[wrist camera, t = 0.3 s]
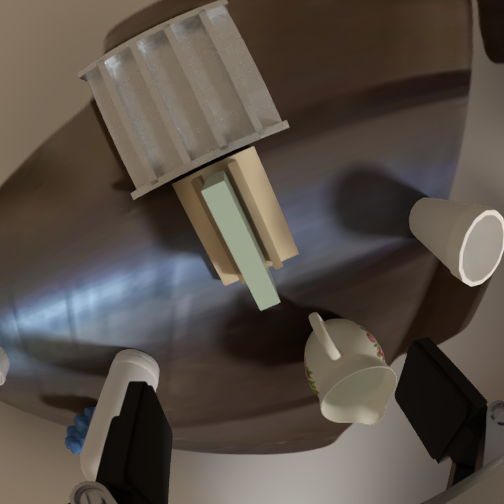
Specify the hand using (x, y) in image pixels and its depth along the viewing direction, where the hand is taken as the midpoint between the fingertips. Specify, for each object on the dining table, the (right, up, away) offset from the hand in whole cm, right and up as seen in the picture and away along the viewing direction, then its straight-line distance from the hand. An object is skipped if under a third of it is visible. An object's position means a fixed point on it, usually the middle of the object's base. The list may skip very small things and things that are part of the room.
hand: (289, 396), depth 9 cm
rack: (-9, +23, +20) cm, 32 cm away
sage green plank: (-3, +9, +25) cm, 26 cm away
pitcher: (+10, -7, +34) cm, 36 cm away
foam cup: (+24, +10, +29) cm, 39 cm away
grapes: (-33, -27, +37) cm, 56 cm away
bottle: (-20, -13, +33) cm, 41 cm away
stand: (-3, +9, +26) cm, 28 cm away
